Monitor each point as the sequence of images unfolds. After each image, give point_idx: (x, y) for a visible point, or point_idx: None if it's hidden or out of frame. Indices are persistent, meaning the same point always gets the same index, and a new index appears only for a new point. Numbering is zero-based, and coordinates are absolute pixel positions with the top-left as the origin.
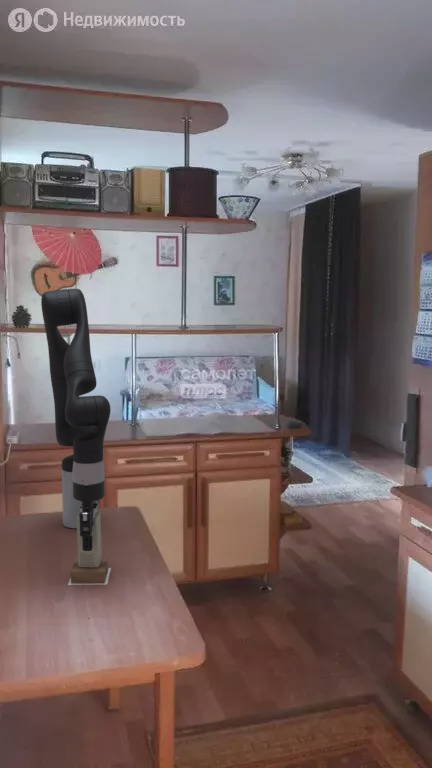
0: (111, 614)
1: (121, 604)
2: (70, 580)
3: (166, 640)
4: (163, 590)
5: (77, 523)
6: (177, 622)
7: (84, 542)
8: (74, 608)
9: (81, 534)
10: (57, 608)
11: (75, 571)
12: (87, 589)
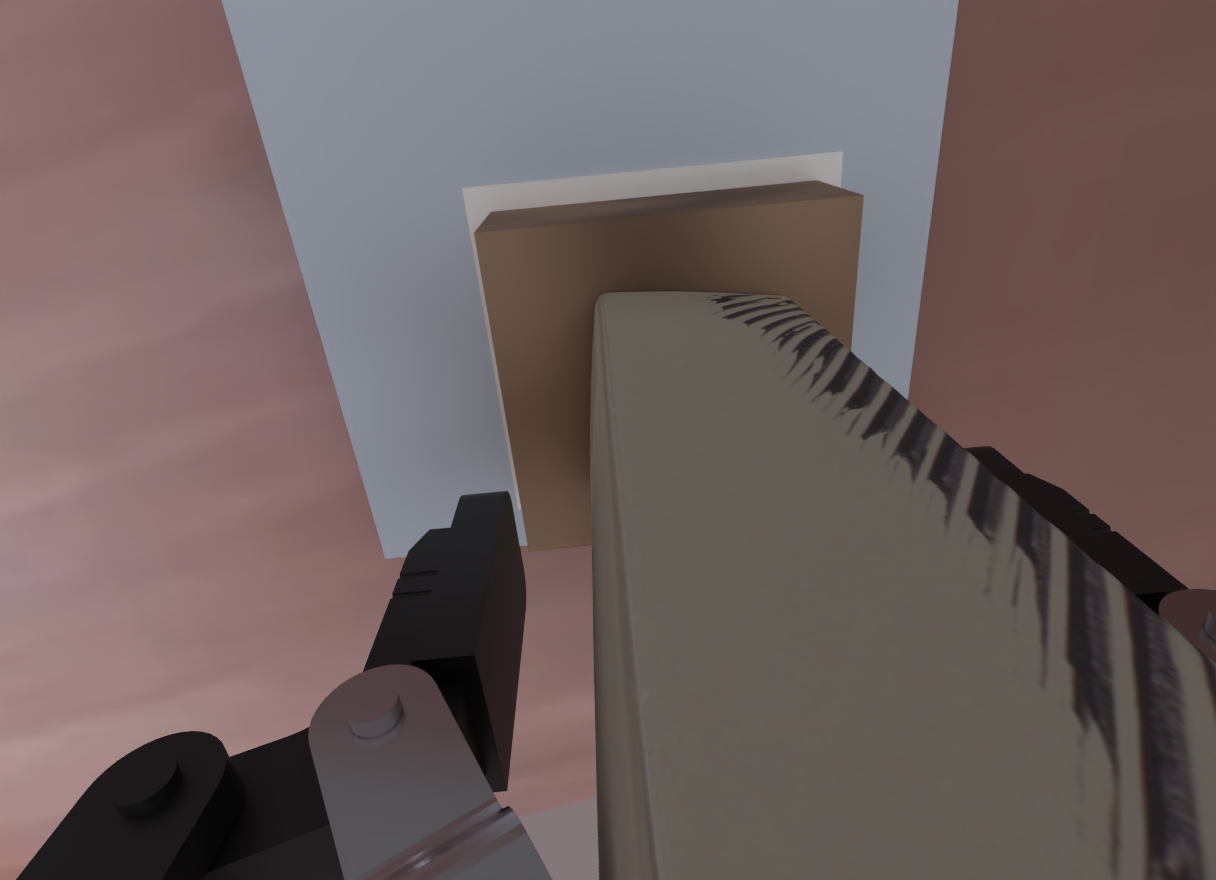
0: (166, 587)
1: (316, 614)
2: (556, 188)
3: (20, 845)
4: (546, 774)
5: (629, 722)
6: None
7: (387, 624)
8: (150, 333)
9: (96, 823)
10: (93, 188)
11: (488, 286)
12: None
